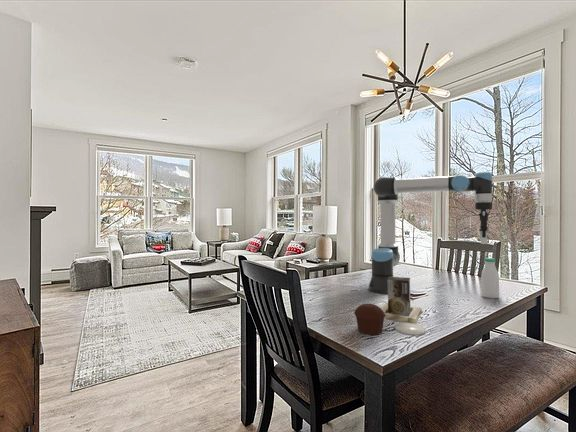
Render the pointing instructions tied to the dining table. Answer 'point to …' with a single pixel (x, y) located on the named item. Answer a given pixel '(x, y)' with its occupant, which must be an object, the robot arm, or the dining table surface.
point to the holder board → (411, 319)
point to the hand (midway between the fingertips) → (483, 242)
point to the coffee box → (399, 296)
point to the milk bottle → (490, 279)
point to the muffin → (369, 319)
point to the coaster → (410, 328)
